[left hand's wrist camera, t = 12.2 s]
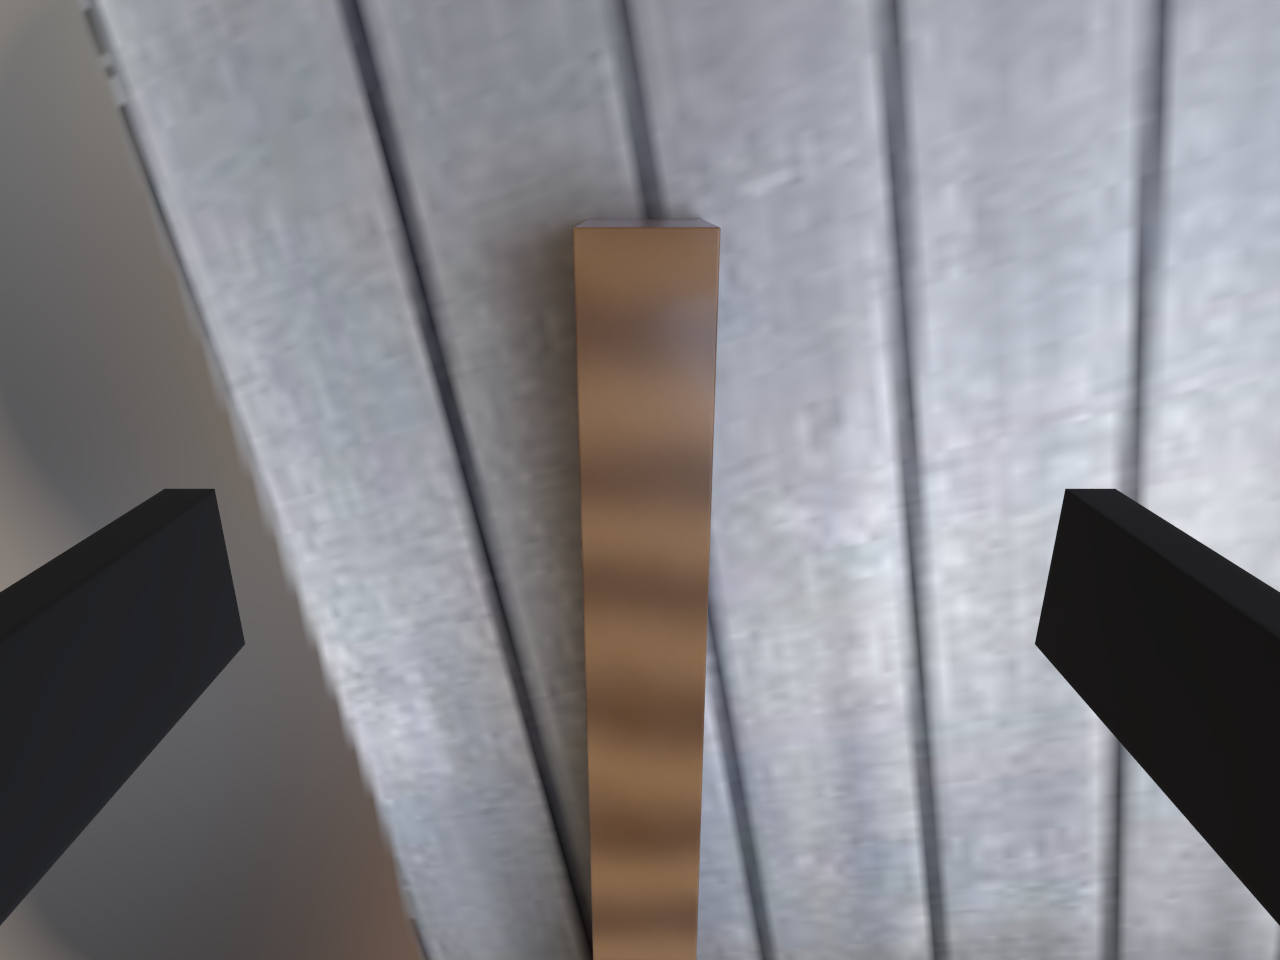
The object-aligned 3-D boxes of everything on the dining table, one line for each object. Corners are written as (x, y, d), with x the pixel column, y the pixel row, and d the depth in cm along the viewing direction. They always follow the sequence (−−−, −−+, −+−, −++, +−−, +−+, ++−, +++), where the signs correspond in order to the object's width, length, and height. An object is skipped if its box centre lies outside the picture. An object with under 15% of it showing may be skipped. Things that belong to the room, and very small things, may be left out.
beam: (586, 218, 34) (572, 227, 27) (703, 218, 34) (720, 227, 27) (607, 1139, 55) (602, 1286, 48) (679, 1139, 55) (685, 1286, 48)
